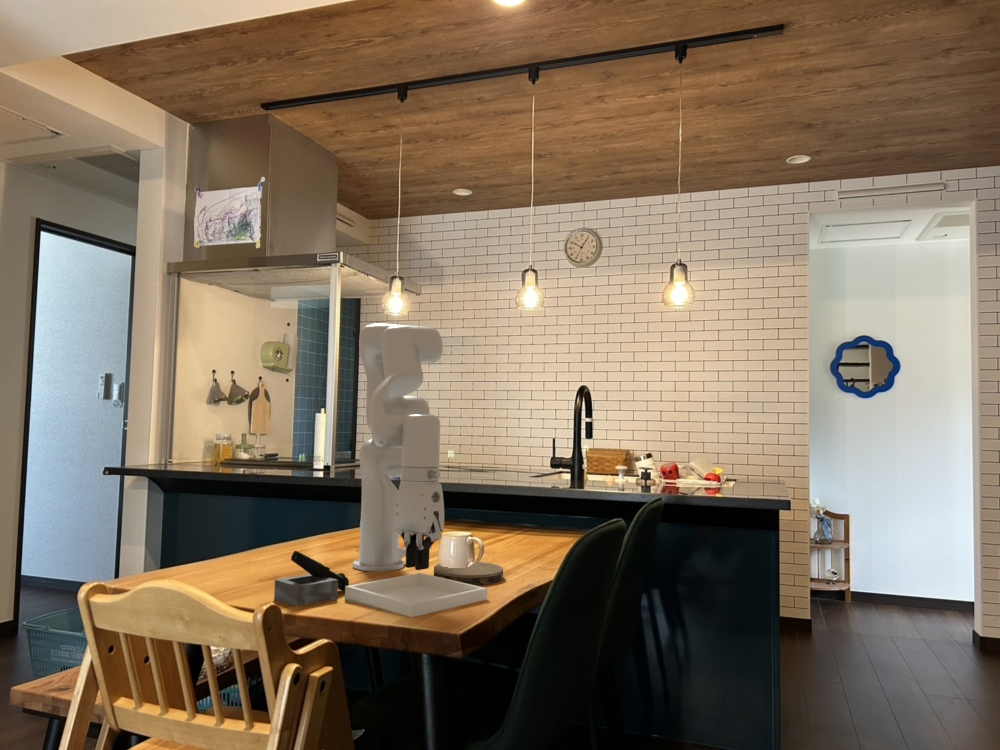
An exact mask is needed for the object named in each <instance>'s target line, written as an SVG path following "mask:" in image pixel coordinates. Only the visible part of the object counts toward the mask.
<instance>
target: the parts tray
mask: <svg viewBox="0 0 1000 750" xmlns="http://www.w3.org/2000/svg"><path fill="white" fill-rule="evenodd" d="M346 600H347V601H348V602H351V603H355V604H357V605H362V606H366V607H370V608H374V609H378V610H381V611H386V612H389V613H393V614H397V615H402V616H405V617H408V618H414V617H419V616H424V615H428V613H429V614H432V613H436V612H441V611H444V610H445V609H446V610H449V609H454V608H457V607H462V606H467V605H471V604H476V603H479V602H485V601H487V600H488V588H487V587H482V586H480V585H471V584H467V583H462V582H458V581H454V580H449V579H445V578H441V577H437V576H434V575H431V574H428V573H423V572H417V573H411V574H406V575H401V576H400V575H399V576H396V577H389V578H384V579H377V580H373V581H367V582H361V583H357V584H349V586H345V592H344V601H346ZM347 601H346V602H347Z"/></svg>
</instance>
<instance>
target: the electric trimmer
mask: <svg viewBox="0 0 1000 750" xmlns="http://www.w3.org/2000/svg"><path fill="white" fill-rule="evenodd" d="M290 558H291V559H290V560H291V562H293V563H295V565H298V566H299V567H300V568H301V569H303V570H304V571H306V572H307V574H311V575H312V576H314V577H321V578H324V577H329V578H333V579H337V580H338V590H339V591H341V592H343V593H345V586H349V585H350V582H349V581H350V580H349V578H348V577H347V576H346V575H345V574H344V573H343V572H340V573H336V572H335V571H332V570H331V567H328V566H325V565H324V564H323V563H321V562H319V561H317V560H316V559H313V558H311V557H309V556H307V555H305V554H304V553H301V552H300V551H298V550H294V551H293V553H292V555H291V557H290Z"/></svg>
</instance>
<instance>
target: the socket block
mask: <svg viewBox="0 0 1000 750" xmlns="http://www.w3.org/2000/svg"><path fill="white" fill-rule="evenodd" d="M338 590H339V589H338V580H337V579H333V578H329V577H324V578H321V577H314V576H312V575H311V574H309V573H307V574H301V575H296V576H290V577H283V578H278V579H277V578H276V579H275V580H274V596H273V600H274V601H277V602H281V603H283V604H284V603H285V604H287V605H290V604H291V605H290V606H294V605H295V606H294V607H297V606H298V607H302V606H301V605H304V606H307V605H306V604H309V605H312V604H311V603H314V604H318V603H317V602H319V603H324V602H329V600H330V601H333V600H334V599H335V600H338V592H339V591H338ZM323 601H324V602H323Z"/></svg>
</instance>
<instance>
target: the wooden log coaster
mask: <svg viewBox="0 0 1000 750" xmlns="http://www.w3.org/2000/svg"><path fill="white" fill-rule="evenodd" d="M476 562H477V563H476V564H474V565H473V566H470V567H465V568H448V567H443V566H441V565H440V564H441V563H439V564H436V565H434V566H433V576H437V577H441V578H445V579H449V580H454V581H458V582H462V583H467V584H471V585H475V586H485V585H486V586H487V585H493V584H496V583H499V582H502V581H503V579H504V568H503V566H501V565H499V564H494V563H490V562H482V561H476Z"/></svg>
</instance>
